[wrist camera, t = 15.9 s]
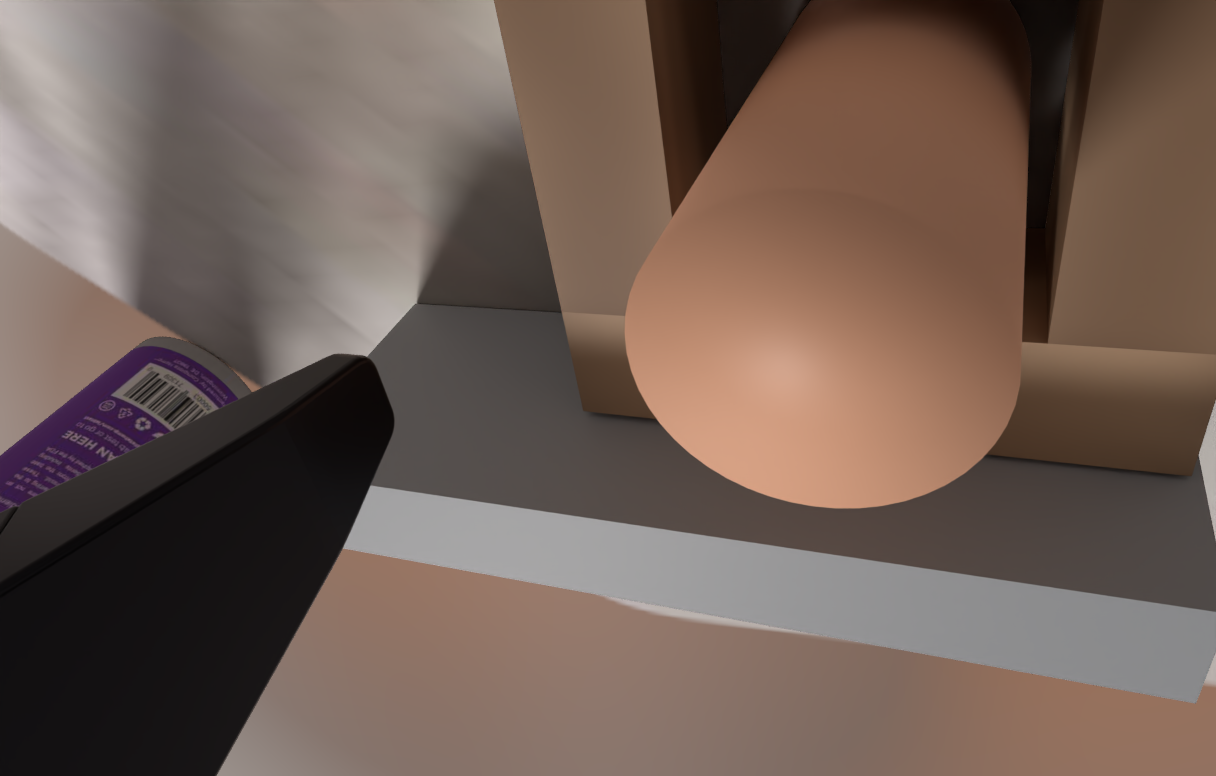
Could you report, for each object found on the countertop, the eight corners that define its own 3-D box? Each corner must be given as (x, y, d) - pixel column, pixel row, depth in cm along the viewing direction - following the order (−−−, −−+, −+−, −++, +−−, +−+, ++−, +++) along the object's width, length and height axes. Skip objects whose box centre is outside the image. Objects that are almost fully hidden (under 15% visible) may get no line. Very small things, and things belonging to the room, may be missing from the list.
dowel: (1046, -57, 13) (1047, 191, 7) (1017, 195, 16) (999, 531, 10) (772, -35, 15) (596, 187, 9) (784, 193, 17) (650, 483, 11)
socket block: (1353, -377, 10) (1457, -377, 8) (1167, 343, 16) (1191, 475, 14) (554, -239, 14) (448, -208, 11) (640, 311, 20) (583, 411, 17)
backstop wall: (1177, 351, 16) (1230, 614, 12) (1155, 435, 17) (1196, 703, 13) (415, 303, 22) (264, 469, 18) (437, 369, 23) (301, 540, 19)
